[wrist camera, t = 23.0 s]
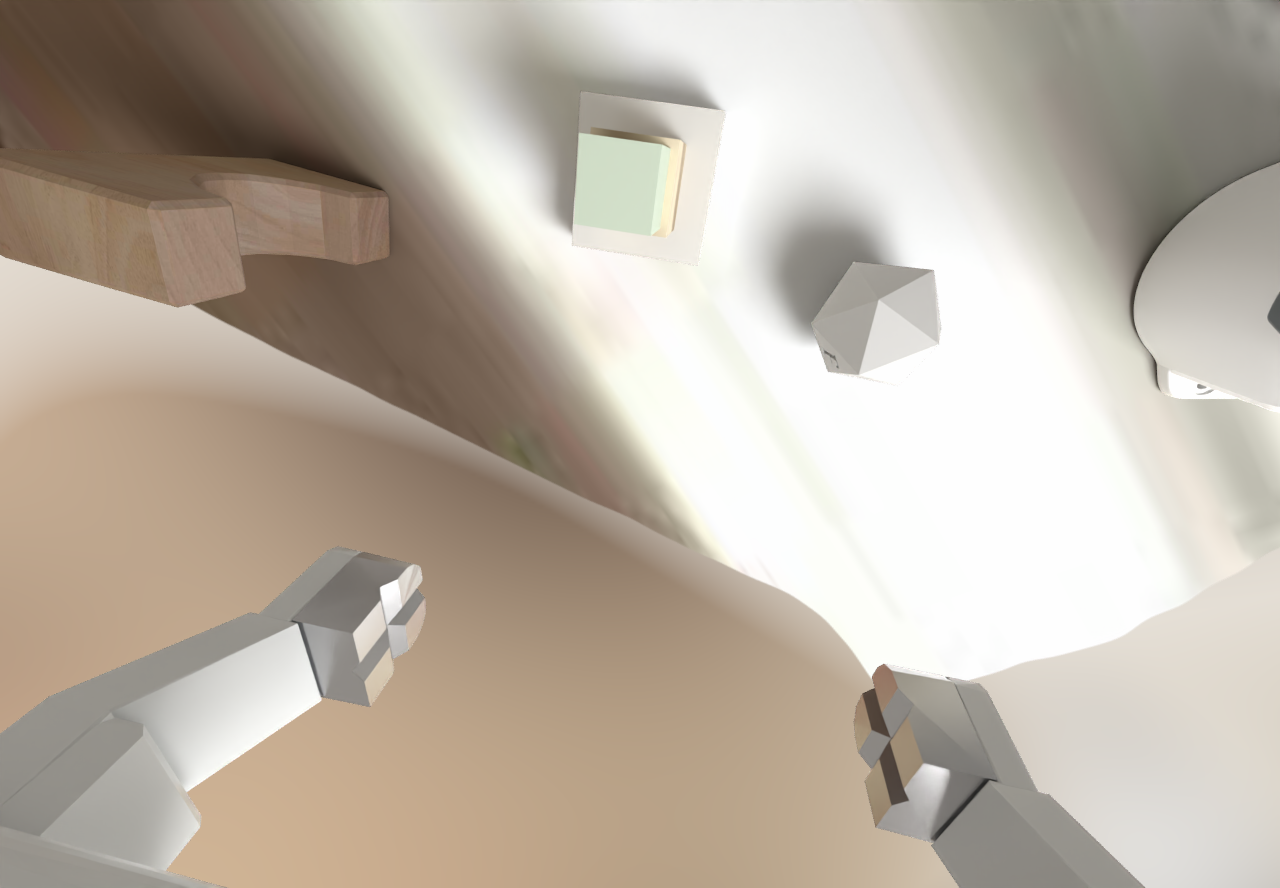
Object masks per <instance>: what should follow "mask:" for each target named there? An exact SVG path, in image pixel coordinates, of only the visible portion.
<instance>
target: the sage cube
mask: <svg viewBox="0 0 1280 888" xmlns="http://www.w3.org/2000/svg"><path fill="white" fill-rule="evenodd" d="M670 151H671V149H670V148H668V147H666V146H664V145H662V144H655V143H648V142H641V141H634V140H627V139H620V138H613V137H606V136H599V135H592V134H585V133H579V142H578V160H577V178H576V195H575V213H574V224H577V225H583V226H589V227H596V228H602V229H608V230H615V231H621V232H627V233H634V234H640V235H647V236H651V235H653V234H654V233H655V232H656V231H658V230H659V229H660V225H661V217H662V210H663V203H664V195H665V188H666V181H667V173H668V166H669V159H670Z"/></svg>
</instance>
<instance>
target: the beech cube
mask: <svg viewBox="0 0 1280 888" xmlns="http://www.w3.org/2000/svg"><path fill="white" fill-rule="evenodd" d="M590 134H592V135H599V136H606V137H613V138H620V139H627V140H634V141H641V142H648V143H655V144H662V145H664V146H666V147H668V148H670V149H671V151H670V159H669V166H668V173H667V181H666V188H665V195H664V203H663V210H662V217H661V225H660V229H659V230H658V231H656V232H655V233H654V234H653V235H652V236H658V237H664V238H666V237H667V236H668V235H669V234H670V233H671V232H672V231H673V230H674V226H675V220H676V213H677V207H678V200H679V193H680V187H681V180H682V173H683V167H684V160H685V153H686V147H687V145H686V144H685V143H684V142H682V141H681V140H678V139H671V138H664V137H657V136H651V135H644V134H637V133H630V132H623V131H616V130H609V129H602V128H595V127H591V131H590Z"/></svg>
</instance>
